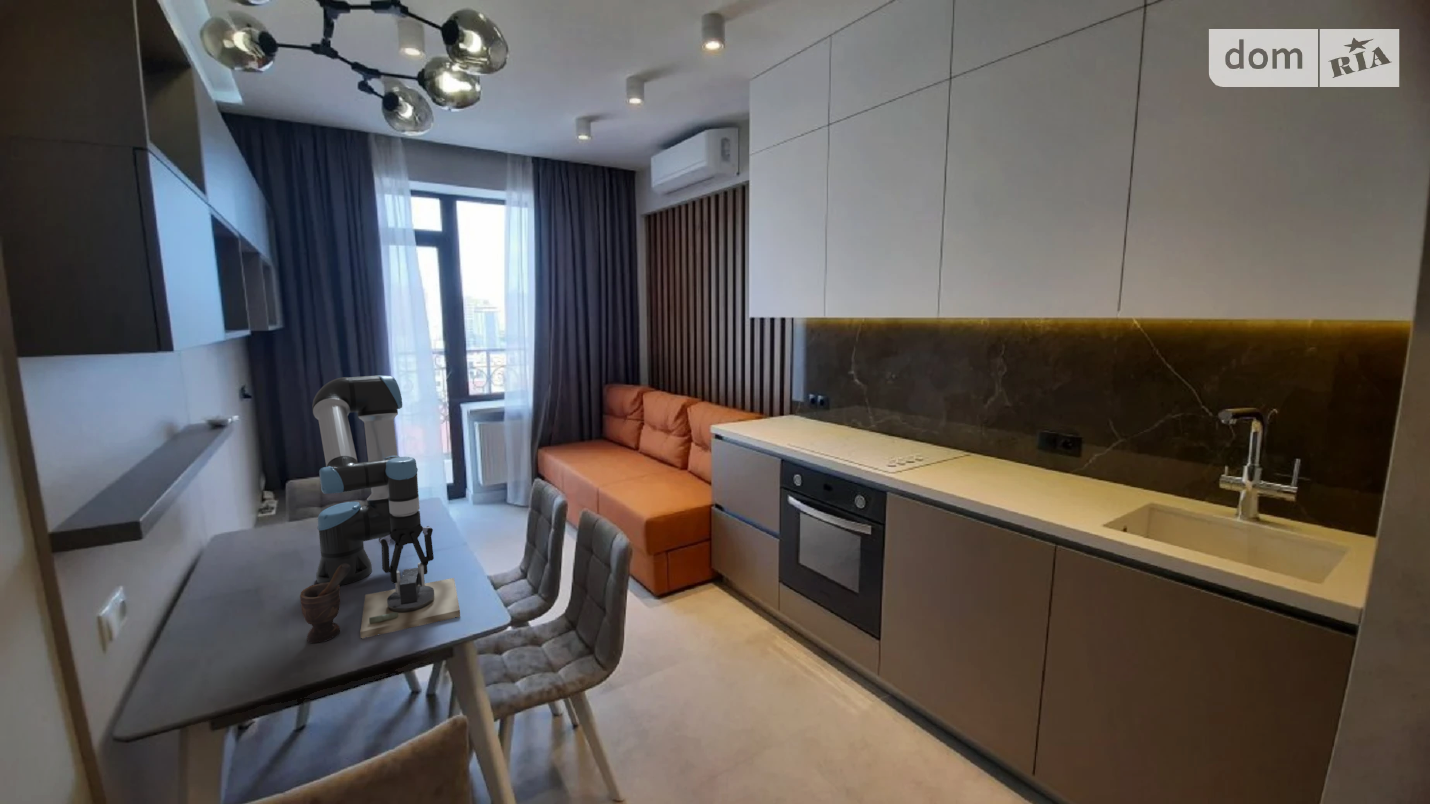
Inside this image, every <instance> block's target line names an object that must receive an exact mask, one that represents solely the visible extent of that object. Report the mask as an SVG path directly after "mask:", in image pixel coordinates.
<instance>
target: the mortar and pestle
mask: <svg viewBox="0 0 1430 804" xmlns="http://www.w3.org/2000/svg"><path fill="white" fill-rule="evenodd" d="M350 568H351V567H350V565H348V564H346V563H344V564H341V565H340V566H339V567H338V568H337V570H336V572H335V573H334V575H333V577H332V579H331V581H330V582H327V583H320V584H318V583H317V584H311V585H309V586H307V587H306V588H304V589H303V590H301V591H300V595H299V598H300V606H301V613H302V616H303V618H304V620H305V622H306V623H307V624H309V625H311V626H312V627H311V628H310V630H309V631H308V633H307V635H306V640H307V642H308V643H311V644H317V643H322V642H323V643H324V642H326V641H329V640H331V639H333V638H335V637H337V636H339V635H340V633H341V627H340V625H339V624H338V623H336V622H334V619H335V618H337V617H338V615H339V611H340V607H341V595H340V594H341V585H339V583H340V582H341V581H342V580H343V579H344V577H345V576H346V575H347V574H348V573H349V571H350Z"/></svg>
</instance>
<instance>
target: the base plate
mask: <svg viewBox="0 0 1430 804" xmlns="http://www.w3.org/2000/svg"><path fill="white" fill-rule="evenodd" d="M425 586H430V587H432V588H433V589H434V600H433V602H432V603H430V604H429V605H427V606H426V607H424V608H421V609H419V610H415V611H411V612H403V613H398V612H392V611H390V610H389V609H388V605H387V599H388V597H389V596H390V595H391V594H392V593H394V592H396V588H393V589H389V590H383V591H379V592H373V593H367V594H365V595H364V602H363V609H362V616H361V625H360V631H359V633H360V639H361V638H362V639H366V638H365V637H367V638H370V637H375V635H376V636H379V635H378V634H380V635H383V634H388V633H393V632H399V631H402V630H407V629H411V628H416V627H420V626H425V625H429V624H433V623H438V621H439V622H443V621H447V620H452V619H456V618H455V617H457V618H461V610H460V603H459V598H458V593H457V592H458V591H457V586H456V581H455V577H451V578H447V579H441V580H435V581H431V582H425Z"/></svg>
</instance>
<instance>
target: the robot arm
mask: <svg viewBox="0 0 1430 804" xmlns="http://www.w3.org/2000/svg"><path fill="white" fill-rule="evenodd" d="M402 408H403V398H402V393H401V390H400V387H399V384H398V380H397V379H396V378H395V377H393V376H392V375H365V376H352V377H349V376H345V377H343V376H342V377H338V378H335V379H332V380H330V381H329V382H327V383H325V384H324V385H323V386H322V387H321V388H320V389H319V390H318V391H317V392H316V394H315V396H314V398H313V401H312V414H313V417H314V418H315V419H316V420H318V424H319V425H318V426H319V431H320V437H321V443H322V450H323V454H324V455H323V456H324V461H325V466H324V467H321V468H320V469H319V471H318V473H319V474H318V475H319V482H320V483H319V484H320V490H321V492H322V494H325V495H327V494H328V495H329V494H341V493H345V492H352V491H357V490H364V489H371V490H370V491H371V494H370V495H369V496H368V497H367V498H366V501H367V502H366V503H367V504H365V505H361V504H360V502H359V501H346V502H341V503H337V504H334V505H332V506H329V507H327V508H325V509H323V510H322V511H320V513H319V514H318V516H317V530H318V538H319V548H320V549H319V550H320V560H319V563H318V566H317V570H316V574H315V577H316V580H315V581H316V583H317V584H320V583H327V582H330V581H331V579H332V577H333V575H334V573H335V572H336V570H337V568H338V567H339V566H340V565H341V564H344V563H346V564H348V565H350V567H351V568H350V571H349V573H348V574H347V575H346V576H345V577H344V579H343V580H342V581H341V582H340V583H339V585H340V586H342V585H347V584H352V583H355V582H358V581H360V580H362V579H365V578H366V577H368V576H369V575H370V574H371V573H372V571H373V567H372V566H373V564H372V561H371V560H370V558H369V555H368V554H367V552H366V550H365V547H364V542H368V541H374V540H378V541H379V543H380V545H381V568H382V570H383V572H384V573H385V574H388V573H389V575H390V581H391V583H392V584H394V585H395V586H394V587H395V588H394V589H396V592H397V593H398V594H400V581H401V572H400V570H399V569H398V568H399V563H400V559H401V554H402V551H403V548H404V547H405V546H406V545H407V544H413V548H414V550H415V552H416V554H417V557H418V560H419V561H420V562H418V563H417V568H418V576H419V584H420V586H421V587H425V583H426V582H425V575H427V574H428V564H429V562H431V561H433V560H434V558H435V557H434V549H433V540H432V535H433V531H434V530H433V528H432V527H431V526H429V525H427V526H423V525H422V524H421V523H422V522H421V521H422V520H421V511H420V509H421V507H420V497H419V482H418V481H419V480H418V472H419V471H418V470H419V469H418V467H417V461H416V459H415V458H414V457H410V456H399V455H398V449H397V448H398V447H397V440H396V431H395V423H394V422H395V421H394V420H395V418H396V417H397V416H398V415H399V411H398V410H401V409H402ZM350 413H357V418H358V419H359V420H361V421H362V422H363V423H364V425H363V426H364V433H365V442H366V452H367V453H366V454H367V461H363V462H358V458H357V452H356V449H355V444H354V440H353V434H352V430H351V426H350V422H349V417H348V416H349V414H350ZM421 533H422V534H423V535H424V536H423V537H424V545H425V552H424V550H423V548H422V546H421V543H420V540H419V537H420V536H421ZM391 540H393V541H394V548H393V553H392V558H391V561H390V546H389V544H390V542H391Z"/></svg>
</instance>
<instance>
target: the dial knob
mask: <svg viewBox="0 0 1430 804" xmlns="http://www.w3.org/2000/svg"><path fill="white" fill-rule="evenodd" d="M400 580H401V581H400V594H398V593H397V592H394V593H392V594H391V595H390V596H389V597H388V599H387V605H388V609H389V610H390V611H392V612H398V613H403V612H411V611H415V610H419V609H421V608H424V607H426V606H427V605H429V604H430V603H432V602H433V600H434V589H433V588H432V587H430V586H425V587H421V586H420V584H419V576H418V567H413V568H405V569H403V571H402V575H401V577H400Z"/></svg>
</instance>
